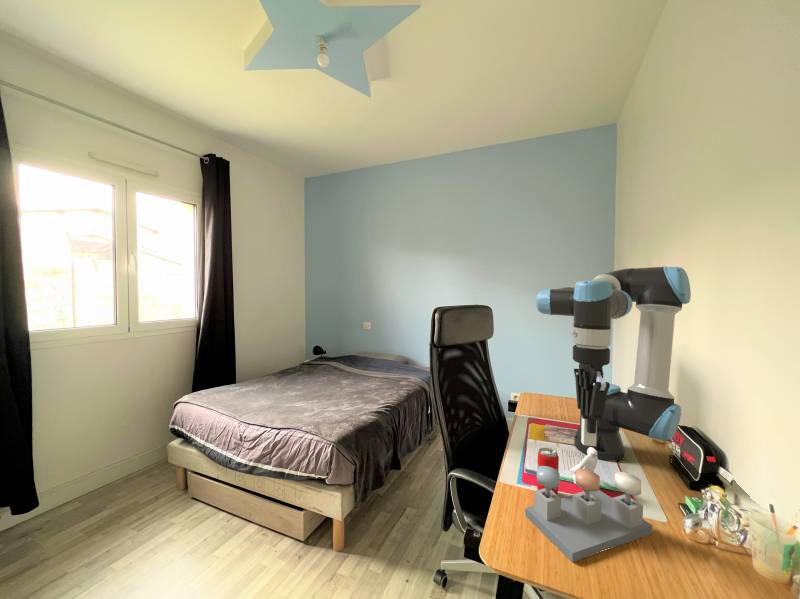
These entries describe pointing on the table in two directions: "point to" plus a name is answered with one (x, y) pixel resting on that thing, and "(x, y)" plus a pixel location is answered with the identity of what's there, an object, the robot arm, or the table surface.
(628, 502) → the ivory button
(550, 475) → the blue-grey rounded knob
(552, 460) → the beverage can
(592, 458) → the figurine
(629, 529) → the button board
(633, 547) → the table surface
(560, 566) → the table surface
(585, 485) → the terracotta button
